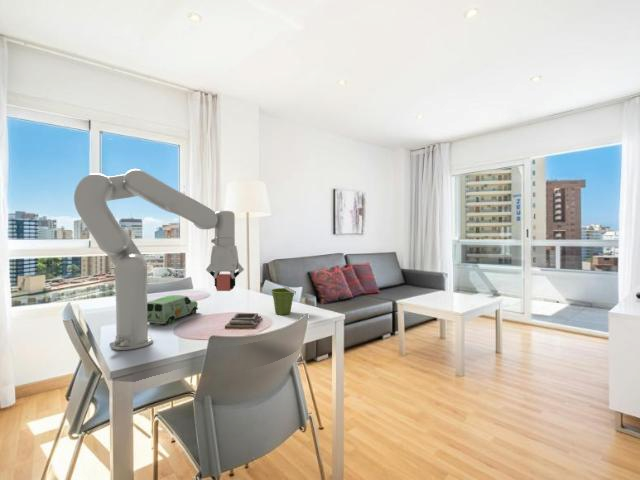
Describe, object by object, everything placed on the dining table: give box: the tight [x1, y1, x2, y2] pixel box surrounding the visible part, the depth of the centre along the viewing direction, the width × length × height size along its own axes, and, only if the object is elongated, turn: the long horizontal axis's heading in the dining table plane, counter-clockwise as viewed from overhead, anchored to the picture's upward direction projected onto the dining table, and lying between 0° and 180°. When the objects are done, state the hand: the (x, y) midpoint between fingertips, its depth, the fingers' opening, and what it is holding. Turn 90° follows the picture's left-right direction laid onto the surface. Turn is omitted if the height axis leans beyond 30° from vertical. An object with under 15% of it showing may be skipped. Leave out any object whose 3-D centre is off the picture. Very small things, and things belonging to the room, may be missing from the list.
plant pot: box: [270, 287, 295, 316], centre depth 160 cm, size 12×12×11 cm
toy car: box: [147, 294, 199, 326], centre depth 150 cm, size 11×25×10 cm, turn 167°
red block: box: [216, 273, 233, 292], centre depth 131 cm, size 5×5×6 cm
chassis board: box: [224, 312, 262, 330], centre depth 143 cm, size 16×12×3 cm
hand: (225, 287), depth 131 cm, fingers closed on red block, 5 cm apart
